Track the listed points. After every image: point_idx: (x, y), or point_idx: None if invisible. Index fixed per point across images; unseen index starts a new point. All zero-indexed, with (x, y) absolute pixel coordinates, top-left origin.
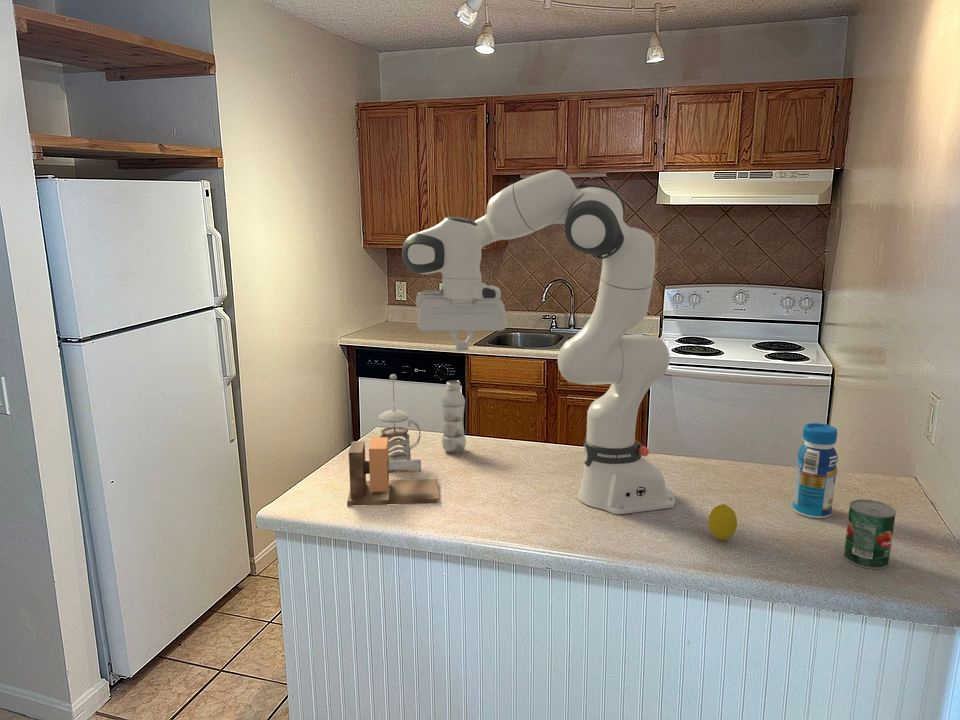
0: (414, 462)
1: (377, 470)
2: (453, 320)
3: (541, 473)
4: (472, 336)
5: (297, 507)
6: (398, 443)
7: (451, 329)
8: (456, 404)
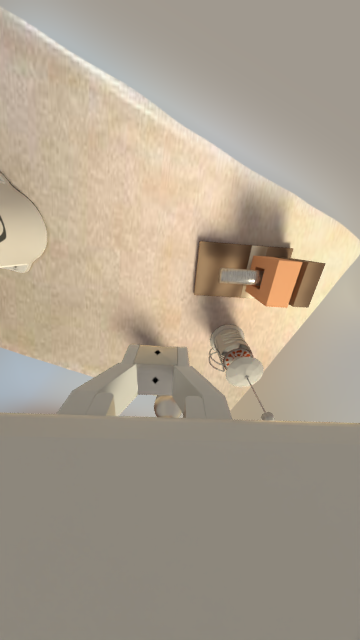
0: (229, 272)
1: (275, 258)
2: (267, 578)
3: (87, 304)
4: (81, 386)
5: (336, 252)
6: (234, 342)
7: (245, 427)
8: (165, 397)
